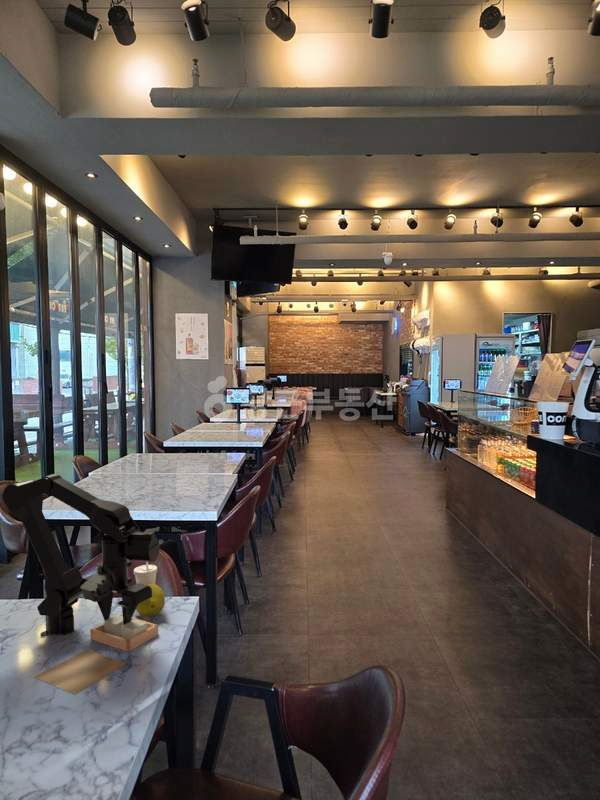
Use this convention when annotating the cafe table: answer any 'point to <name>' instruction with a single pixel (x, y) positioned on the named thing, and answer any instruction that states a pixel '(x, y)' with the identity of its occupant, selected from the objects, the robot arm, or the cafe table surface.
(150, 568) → the smoothie
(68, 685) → the board
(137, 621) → the cream cube
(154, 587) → the lemon
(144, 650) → the cafe table surface
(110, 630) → the stone
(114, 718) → the cafe table surface
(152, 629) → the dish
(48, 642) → the cafe table surface
